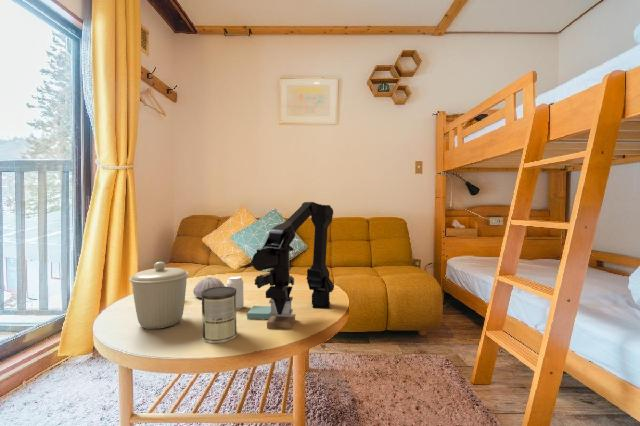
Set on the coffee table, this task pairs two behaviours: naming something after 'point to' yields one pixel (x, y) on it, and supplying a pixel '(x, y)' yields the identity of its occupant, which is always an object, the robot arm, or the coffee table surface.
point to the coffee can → (219, 314)
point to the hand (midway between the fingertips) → (281, 311)
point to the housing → (286, 310)
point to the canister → (159, 295)
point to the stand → (259, 312)
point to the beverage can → (237, 289)
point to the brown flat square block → (281, 322)
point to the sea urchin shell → (206, 285)
